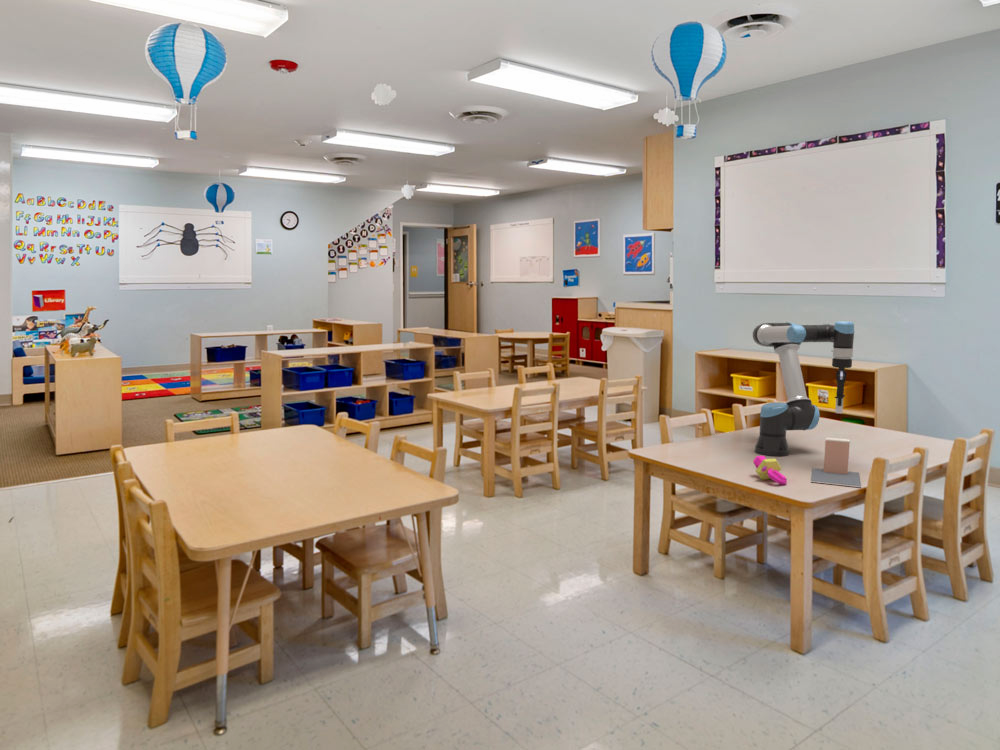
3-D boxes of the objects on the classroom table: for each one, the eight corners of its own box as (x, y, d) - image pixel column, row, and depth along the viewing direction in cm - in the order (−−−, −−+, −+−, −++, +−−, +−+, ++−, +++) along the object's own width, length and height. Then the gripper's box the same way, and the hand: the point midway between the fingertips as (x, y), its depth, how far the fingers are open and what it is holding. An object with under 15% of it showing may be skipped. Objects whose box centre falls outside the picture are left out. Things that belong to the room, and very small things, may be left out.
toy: (766, 488, 275) (781, 467, 272) (740, 464, 291) (754, 444, 288) (783, 495, 279) (798, 474, 277) (757, 471, 295) (771, 451, 292)
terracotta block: (823, 469, 297) (825, 437, 295) (847, 472, 293) (849, 439, 291) (823, 471, 293) (825, 439, 291) (847, 474, 289) (849, 441, 288)
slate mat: (812, 469, 300) (812, 467, 300) (859, 474, 292) (859, 472, 292) (810, 482, 280) (810, 480, 280) (861, 488, 272) (861, 486, 272)
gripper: (832, 355, 305) (829, 408, 308) (832, 359, 290) (829, 414, 293) (851, 356, 302) (848, 410, 305) (852, 360, 287) (849, 416, 290)
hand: (838, 412), depth 299 cm, fingers open, 3 cm apart
